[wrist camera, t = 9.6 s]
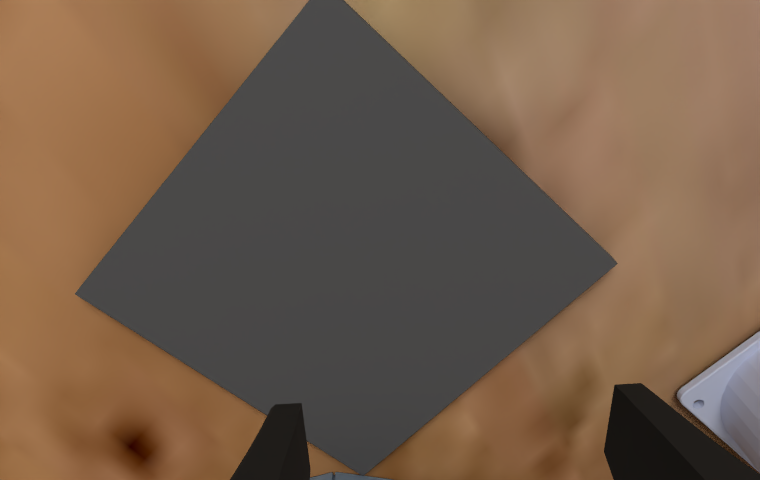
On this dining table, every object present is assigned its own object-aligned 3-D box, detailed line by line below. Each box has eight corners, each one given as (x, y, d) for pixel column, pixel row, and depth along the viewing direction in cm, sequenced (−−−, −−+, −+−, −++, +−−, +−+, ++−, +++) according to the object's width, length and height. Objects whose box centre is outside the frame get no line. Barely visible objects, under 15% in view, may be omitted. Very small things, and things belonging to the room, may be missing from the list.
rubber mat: (611, 256, 24) (617, 263, 23) (363, 466, 28) (363, 476, 28) (324, -18, 19) (323, -18, 18) (81, 286, 23) (74, 293, 23)
